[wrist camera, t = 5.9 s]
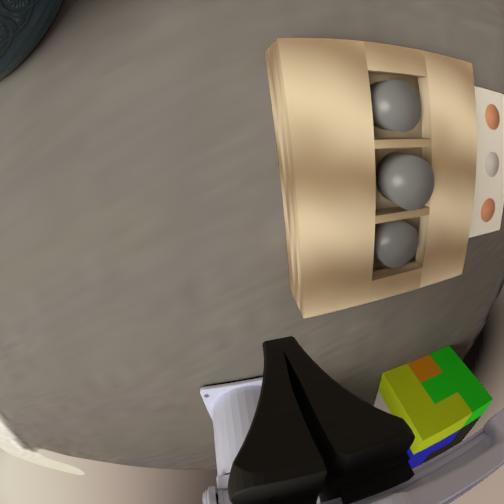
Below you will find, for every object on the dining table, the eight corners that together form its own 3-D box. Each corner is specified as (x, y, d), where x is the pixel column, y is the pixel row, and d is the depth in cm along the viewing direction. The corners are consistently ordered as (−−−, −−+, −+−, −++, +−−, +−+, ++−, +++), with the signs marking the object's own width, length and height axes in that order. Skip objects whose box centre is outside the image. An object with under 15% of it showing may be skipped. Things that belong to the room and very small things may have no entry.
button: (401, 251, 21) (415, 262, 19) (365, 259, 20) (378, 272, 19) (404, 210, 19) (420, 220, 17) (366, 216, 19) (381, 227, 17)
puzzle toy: (369, 417, 33) (397, 475, 24) (382, 372, 29) (422, 440, 20) (429, 392, 34) (460, 441, 25) (448, 345, 30) (492, 398, 21)
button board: (437, 255, 23) (461, 274, 20) (290, 290, 22) (304, 318, 19) (440, 65, 16) (471, 63, 13) (264, 52, 15) (277, 38, 12)
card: (497, 228, 23) (500, 230, 23) (464, 237, 23) (466, 238, 23) (504, 95, 17) (507, 95, 17) (469, 85, 17) (472, 85, 16)
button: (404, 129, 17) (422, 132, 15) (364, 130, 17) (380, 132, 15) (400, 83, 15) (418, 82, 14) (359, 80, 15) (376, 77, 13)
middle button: (414, 198, 18) (433, 207, 16) (375, 203, 17) (392, 213, 16) (415, 151, 16) (435, 156, 14) (375, 152, 16) (393, 158, 14)
